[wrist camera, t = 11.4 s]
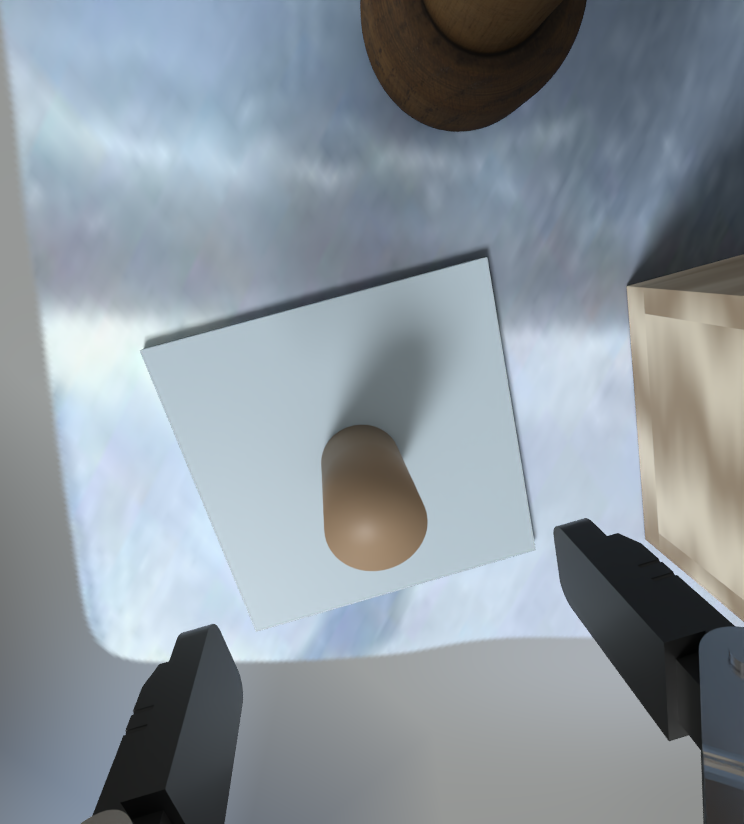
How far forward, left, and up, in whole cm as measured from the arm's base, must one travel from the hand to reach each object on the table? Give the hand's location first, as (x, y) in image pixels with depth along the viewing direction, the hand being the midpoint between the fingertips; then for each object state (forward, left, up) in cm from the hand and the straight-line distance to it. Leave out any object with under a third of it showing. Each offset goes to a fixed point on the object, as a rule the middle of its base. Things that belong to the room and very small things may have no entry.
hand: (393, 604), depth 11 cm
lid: (0, 0, -10) cm, 10 cm away
